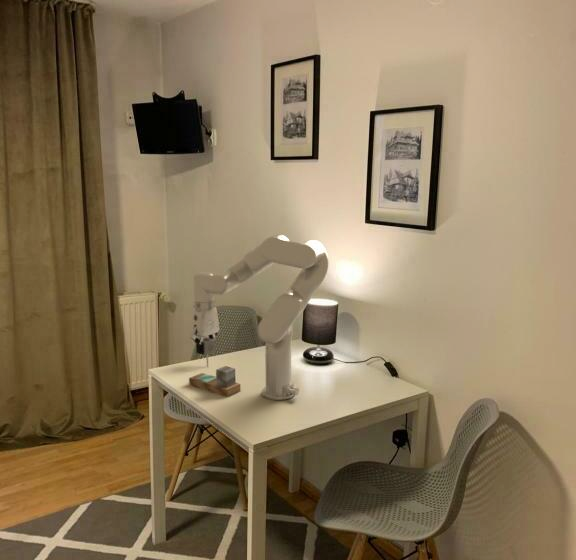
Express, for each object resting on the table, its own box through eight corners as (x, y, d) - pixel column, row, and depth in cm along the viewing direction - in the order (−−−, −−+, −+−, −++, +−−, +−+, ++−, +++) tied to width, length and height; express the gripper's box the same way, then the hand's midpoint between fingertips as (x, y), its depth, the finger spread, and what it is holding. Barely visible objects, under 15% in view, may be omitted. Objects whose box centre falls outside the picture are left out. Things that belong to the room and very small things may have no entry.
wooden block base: (240, 391, 212) (240, 368, 210) (228, 397, 206) (227, 374, 205) (202, 380, 224) (201, 358, 222) (189, 385, 218) (188, 363, 216)
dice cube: (205, 355, 211) (204, 342, 210) (196, 352, 215) (196, 339, 214) (215, 352, 215) (215, 339, 214) (207, 349, 218) (207, 337, 217)
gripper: (195, 311, 202) (196, 359, 206) (227, 302, 216) (228, 347, 219) (180, 308, 207) (182, 355, 210) (213, 299, 220) (214, 344, 224)
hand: (205, 350), depth 215 cm, fingers closed on dice cube, 5 cm apart
